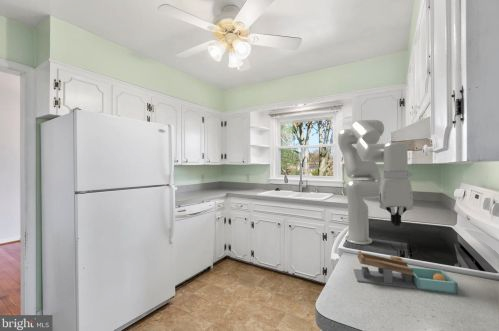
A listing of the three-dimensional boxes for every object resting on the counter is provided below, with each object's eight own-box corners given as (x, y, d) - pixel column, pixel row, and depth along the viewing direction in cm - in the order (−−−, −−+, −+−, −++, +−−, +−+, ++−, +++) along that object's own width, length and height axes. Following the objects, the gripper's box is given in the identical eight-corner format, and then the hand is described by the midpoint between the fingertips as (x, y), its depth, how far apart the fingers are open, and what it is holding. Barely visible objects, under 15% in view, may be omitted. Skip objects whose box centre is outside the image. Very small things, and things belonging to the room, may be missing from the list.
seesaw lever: (354, 252, 92) (355, 244, 92) (400, 262, 87) (401, 253, 87) (359, 266, 79) (361, 256, 79) (414, 278, 75) (415, 268, 75)
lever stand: (353, 270, 87) (353, 257, 87) (406, 275, 82) (406, 262, 82) (357, 281, 78) (357, 267, 78) (417, 288, 73) (416, 273, 73)
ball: (428, 276, 78) (435, 269, 77) (438, 283, 77) (445, 276, 76) (433, 281, 74) (440, 274, 74) (443, 288, 74) (450, 281, 73)
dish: (406, 275, 82) (406, 266, 82) (441, 279, 79) (441, 269, 79) (417, 289, 73) (417, 279, 73) (457, 293, 70) (457, 283, 70)
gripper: (414, 175, 88) (415, 223, 88) (371, 175, 92) (371, 221, 92) (423, 176, 81) (423, 229, 81) (375, 176, 85) (376, 226, 85)
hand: (395, 224), depth 86 cm, fingers closed
